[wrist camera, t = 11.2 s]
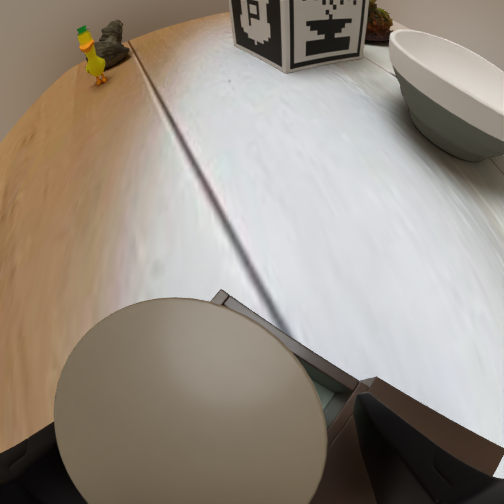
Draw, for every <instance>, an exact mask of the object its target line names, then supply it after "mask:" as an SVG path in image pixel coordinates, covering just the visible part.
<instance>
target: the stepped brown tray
mask: <svg viewBox="0 0 504 504" xmlns="http://www.w3.org/2000/svg"><path fill="white" fill-rule="evenodd" d="M211 302H213V303H216V304H219V305H222V306H226V307H229V308H231V309H233V310H235V311H237V312H240V313H242V314H244V315H246V316H248V317H249V318H251V319H253V320H254V321H256V322H258V323H259V324H261V325H263V326H264V327H265V328H266V329H268V330H269V331H270V332H272V333H273V334H274V335H275V336H277V337H278V338H279V339H280V340H281V341H282V342H283V343H284V344H285V345H286V346H287V347H288V348H289V349H290V350H291V351H292V352H293V354H294V355H295V356H296V358H297V359H298V360H299V362H300V363H301V364H302V365H303V367H304V368H305V370H306V372H307V373H308V375H309V377H310V379H311V380H312V382H313V384H314V386H315V388H316V391H317V393H318V396H319V398H320V401H321V403H322V407H323V412H324V416H325V420H326V428H327V439H328V443H327V457H326V463H325V467H324V471H323V475H322V478H321V481H320V483H319V486H318V488H317V491H316V493H315V495H314V496H313V498H312V500H311V501H310V503H309V504H377V502H376V499H375V495H374V492H373V489H372V486H371V483H370V479H369V476H368V473H367V470H366V467H365V464H364V461H363V458H362V454H361V451H360V446H359V441H358V435H357V430H356V425H355V420H354V415H353V409H354V404H355V399H356V395H357V394H359V393H364V392H369V393H371V394H372V395H373V396H375V397H376V398H377V399H378V400H380V401H381V402H382V403H383V404H385V405H386V406H387V407H389V408H390V409H391V410H392V411H394V412H395V413H396V414H398V415H399V416H400V417H401V418H403V419H404V420H405V421H407V422H408V423H409V424H411V425H412V426H413V427H415V428H416V429H417V430H419V431H420V432H421V433H423V434H424V435H425V436H426V437H428V438H429V439H431V440H432V441H433V442H435V443H436V445H439V446H440V447H441V448H443V449H444V450H446V451H447V452H449V453H450V454H452V455H453V456H454V457H456V458H458V459H460V460H461V461H463V462H465V463H467V464H469V465H470V466H472V467H474V468H476V469H478V470H480V471H482V472H484V473H486V474H488V475H490V476H493V474H494V472H495V471H496V469H497V467H498V465H499V463H500V461H501V459H502V457H503V455H504V448H503V447H501V446H499V445H497V444H495V443H493V442H491V441H489V440H487V439H485V438H483V437H481V436H479V435H478V434H476V433H474V432H472V431H470V430H468V429H466V428H465V427H463V426H461V425H459V424H457V423H456V422H454V421H452V420H450V419H448V418H447V417H445V416H443V415H441V414H439V413H438V412H436V411H434V410H432V409H431V408H429V407H427V406H425V405H424V404H422V403H420V402H419V401H417V400H415V399H413V398H412V397H410V396H408V395H407V394H405V393H403V392H401V391H400V390H398V389H396V388H395V387H393V386H391V385H390V384H388V383H386V382H385V381H383V380H381V379H380V378H378V377H373V378H369V379H365V380H361V381H359V380H357V379H356V378H354V377H352V376H351V375H349V374H348V373H346V372H344V371H343V370H341V369H340V368H338V367H336V366H335V365H333V364H332V363H330V362H328V361H327V360H325V359H324V358H322V357H321V356H319V355H318V354H316V353H314V352H313V351H311V350H310V349H308V348H307V347H305V346H304V345H302V344H301V343H299V342H298V341H296V340H295V339H293V338H292V337H290V336H289V335H287V334H286V333H284V332H283V331H281V330H280V329H278V328H277V327H275V326H274V325H272V324H271V323H269V322H268V321H266V320H265V319H263V318H262V317H260V316H259V315H258V314H256V313H255V312H253V311H252V310H250V309H249V308H247V307H246V306H245V305H243V304H242V303H240V302H239V301H237V300H236V299H235V298H233V297H232V296H230V295H229V294H228V293H226V292H225V291H223V290H222V289H221V290H220V291H219V292H218V293H217V294H216V295H215V297H214V298H213V299H212V300H211Z"/></svg>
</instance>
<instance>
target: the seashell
mask: <svg viewBox="0 0 504 504" xmlns="http://www.w3.org/2000/svg"><path fill="white" fill-rule="evenodd" d="M122 26H123V24H122V23H121V21H120V20H116V21H112V22H110V24H109V25H108V26H107V27H106V28H104V29H102V30H101V31H102V33H103V35H102V37H101V38H100V39H99V42H96V43H94V47H95V52H96V56H98V57H100V58H102V59H104V60H105V68H107V67H111V66H113V65H115V64H116V63H118V62H120V61H121V60H122V59H123V58H124V57H125V56H126V55H127V53H128V52H129V48H126V47H124V45H122V44H121V40H122ZM85 55H86V54H85ZM86 60H87V63H88V58H87V57H86Z"/></svg>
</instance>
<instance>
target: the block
mask: <svg viewBox="0 0 504 504" xmlns="http://www.w3.org/2000/svg"><path fill="white" fill-rule="evenodd" d="M228 1H229V8H230V17H231V25H232V33H233V41H234V46H236V47H238V48H240V49H242V50H244V51H246V52H248V53H250V54H252V55H253V56H255V57H257V58H259V59H261V60H263V61H265V62H266V63H268V64H270V65H272V66H273V67H275V68H277V69H279V70H280V71H282V72H284V73H285V74H286V73H290V72H294V71H299V70H303V69H307V68H312V67H317V66H321V65H327V64H332V63H337V62H343V61H349V60H356V59H362V56H363V49H364V42H365V34H366V25H367V16H368V7H369V0H228Z"/></svg>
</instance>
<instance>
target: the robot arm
mask: <svg viewBox="0 0 504 504" xmlns="http://www.w3.org/2000/svg"><path fill="white" fill-rule="evenodd" d="M353 415H354V420H355V425H356V430H357V435H358V441H359V446H360V451H361V454H362V458H363V461H364V464H365V467H366V470H367V473H368V476H369V479H370V483H371V486H372V489H373V492H374V495H375V499H376V502H377V504H504V479H501V478H496V477H493V476H490V475H488V474H486V473H484V472H482V471H480V470H478V469H476V468H474V467H472V466H470V465H469V464H467V463H465V462H463V461H461V460H460V459H458V458H456V457H454V456H453V455H452V454H450V453H449V452H447V451H446V450H444V449H443V448H441V447H440V446H439V445H436V443H435V442H433V441H432V440H431V439H429V438H428V437H426V436H425V435H424V434H423V433H421V432H420V431H419V430H417V429H416V428H415V427H413V426H412V425H411V424H409V423H408V422H407V421H405V420H404V419H403V418H401V417H400V416H399V415H398V414H396V413H395V412H394V411H392V410H391V409H390V408H389V407H387V406H386V405H385V404H383V403H382V402H381V401H380V400H378V399H377V398H376V397H375V396H373V395H372V394H371V393H369V392H364V393H359V394H357V395H356V399H355V404H354V409H353ZM0 504H88V503H87V502H86V500H85V499H84V498H83V496H82V495H81V494H80V492H79V491H78V489H77V488H76V487H75V485H74V483H73V481H72V480H71V478H70V476H69V474H68V472H67V470H66V468H65V465H64V463H63V460H62V458H61V455H60V451H59V448H58V444H57V439H56V433H55V426H54V422H52V423H51V424H49V425H48V426H46V427H45V428H43V429H41V430H40V431H38V432H37V433H35V434H34V435H32V436H30V437H29V438H28V439H26V440H24V441H22V442H21V443H19V444H17V445H16V446H14V447H12V448H10V449H8V450H6V451H4V452H2V453H0Z"/></svg>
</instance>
